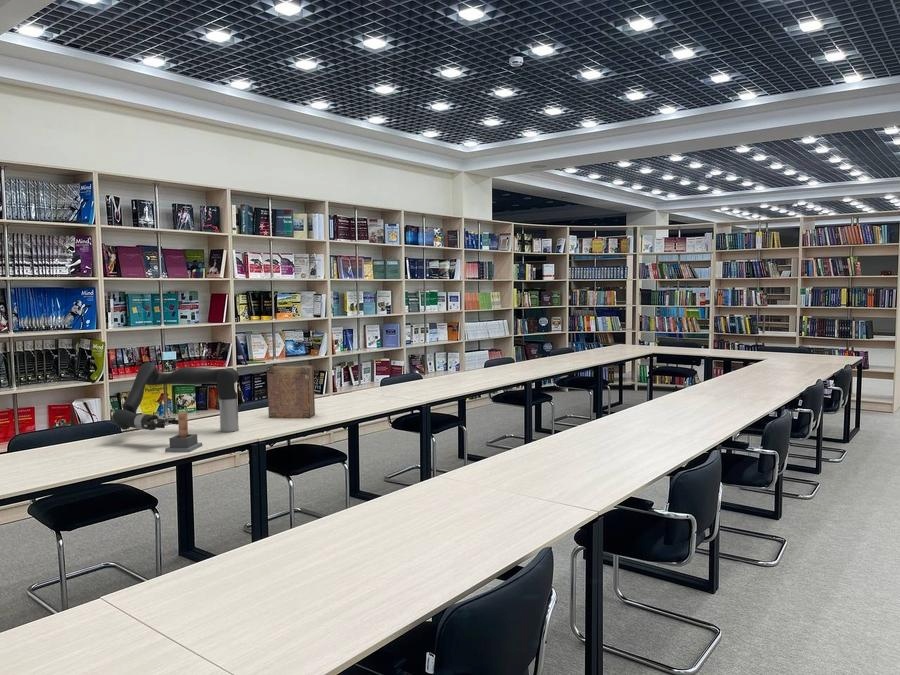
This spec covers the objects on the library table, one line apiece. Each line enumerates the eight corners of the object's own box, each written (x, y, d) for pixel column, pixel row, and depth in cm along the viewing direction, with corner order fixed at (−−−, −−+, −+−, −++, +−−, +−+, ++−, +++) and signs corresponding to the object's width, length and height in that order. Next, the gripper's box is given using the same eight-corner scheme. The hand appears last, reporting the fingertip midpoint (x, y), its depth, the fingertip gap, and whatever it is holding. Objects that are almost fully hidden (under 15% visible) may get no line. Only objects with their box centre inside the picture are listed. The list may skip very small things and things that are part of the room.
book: (315, 415, 381) (313, 365, 378) (309, 418, 371) (308, 367, 369) (274, 414, 384) (273, 365, 382) (268, 417, 375) (266, 367, 373)
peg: (181, 444, 305) (180, 411, 304) (189, 444, 305) (188, 411, 304) (177, 446, 301) (176, 412, 300) (185, 446, 301) (184, 413, 300)
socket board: (178, 445, 309) (178, 433, 309) (202, 445, 308) (201, 433, 308) (165, 451, 298) (164, 439, 297) (189, 452, 296) (189, 439, 296)
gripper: (159, 426, 318) (183, 428, 312) (134, 432, 305) (159, 435, 299) (158, 411, 318) (182, 413, 311) (133, 417, 305) (158, 419, 298)
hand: (171, 424), depth 305 cm, fingers open, 8 cm apart
